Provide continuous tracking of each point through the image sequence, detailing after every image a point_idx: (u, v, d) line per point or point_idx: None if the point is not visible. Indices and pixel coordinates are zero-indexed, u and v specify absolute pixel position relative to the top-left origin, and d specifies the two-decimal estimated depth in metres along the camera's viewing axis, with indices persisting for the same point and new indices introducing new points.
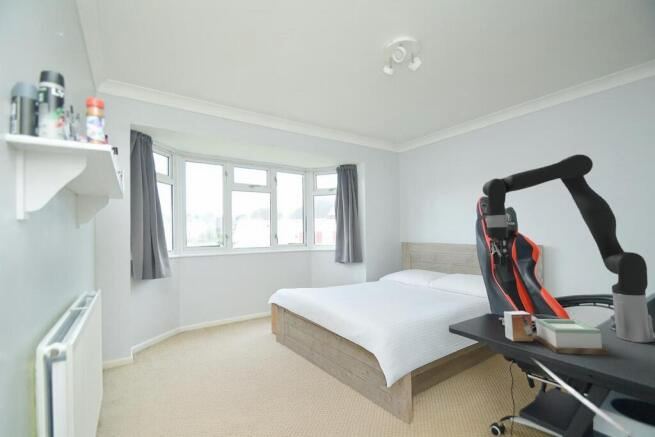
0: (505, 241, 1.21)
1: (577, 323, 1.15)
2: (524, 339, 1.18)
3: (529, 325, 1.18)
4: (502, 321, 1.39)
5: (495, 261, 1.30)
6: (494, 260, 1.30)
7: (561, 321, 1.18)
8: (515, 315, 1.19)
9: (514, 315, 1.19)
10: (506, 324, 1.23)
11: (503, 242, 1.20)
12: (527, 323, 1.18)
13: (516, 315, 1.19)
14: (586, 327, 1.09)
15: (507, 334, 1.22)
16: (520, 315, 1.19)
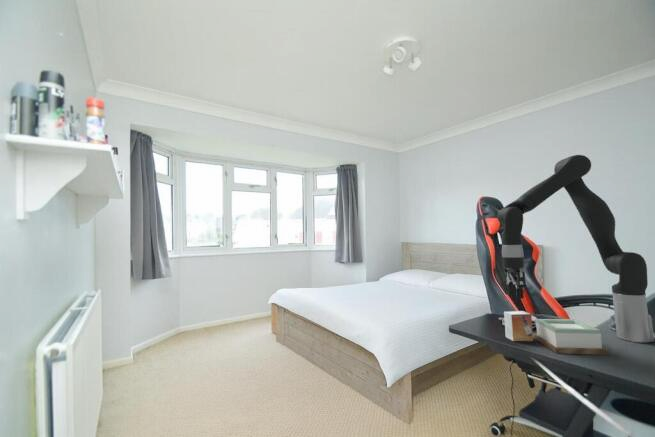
0: (522, 272, 1.16)
1: (577, 323, 1.15)
2: (524, 339, 1.18)
3: (529, 325, 1.18)
4: (502, 321, 1.39)
5: (510, 291, 1.26)
6: (509, 290, 1.26)
7: (561, 321, 1.18)
8: (515, 315, 1.19)
9: (514, 315, 1.19)
10: (506, 324, 1.23)
11: (520, 274, 1.16)
12: (527, 323, 1.18)
13: (516, 315, 1.19)
14: (586, 327, 1.09)
15: (507, 334, 1.22)
16: (520, 315, 1.19)
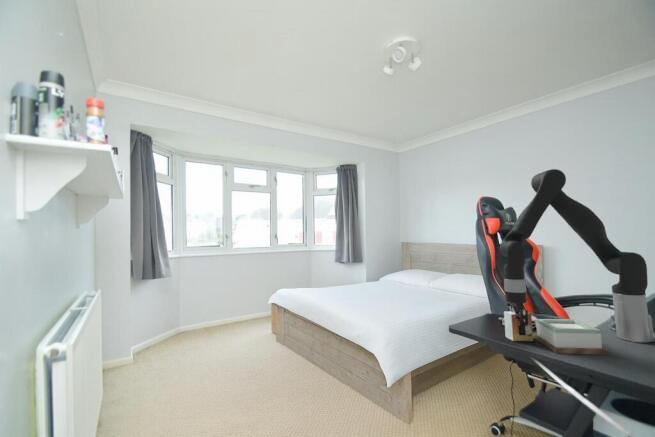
0: (525, 311, 1.15)
1: (577, 323, 1.15)
2: (524, 339, 1.18)
3: (529, 325, 1.18)
4: (502, 321, 1.39)
5: None
6: None
7: (561, 321, 1.18)
8: (515, 315, 1.19)
9: (514, 315, 1.19)
10: (506, 324, 1.23)
11: (523, 312, 1.15)
12: None
13: (516, 315, 1.19)
14: (586, 327, 1.09)
15: (507, 334, 1.22)
16: None
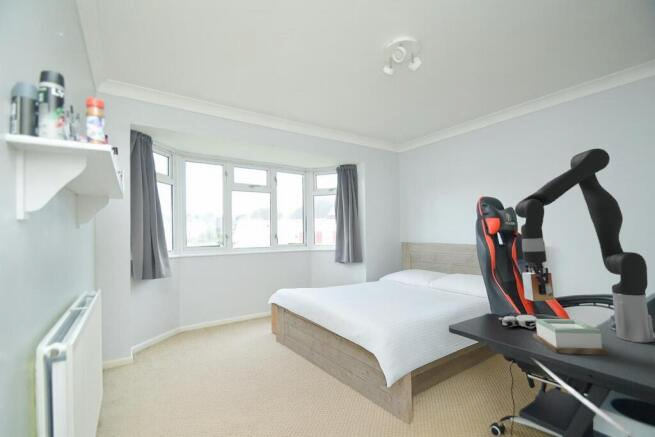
0: (545, 268, 1.12)
1: (577, 323, 1.15)
2: (544, 298, 1.15)
3: (549, 284, 1.16)
4: (502, 321, 1.39)
5: None
6: None
7: (561, 321, 1.18)
8: (534, 274, 1.16)
9: (533, 274, 1.16)
10: (525, 285, 1.20)
11: (543, 270, 1.12)
12: None
13: (535, 274, 1.16)
14: (586, 327, 1.09)
15: (526, 295, 1.19)
16: None
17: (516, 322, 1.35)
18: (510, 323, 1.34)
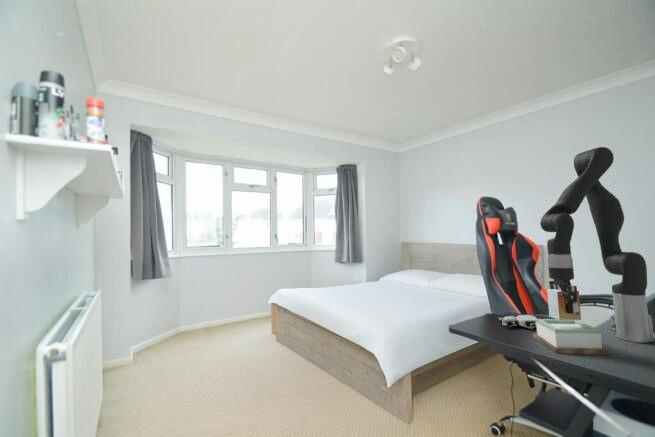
0: (574, 287, 1.07)
1: (577, 323, 1.15)
2: (571, 318, 1.10)
3: (576, 303, 1.10)
4: (502, 321, 1.39)
5: None
6: None
7: (561, 321, 1.18)
8: (561, 292, 1.11)
9: (560, 292, 1.11)
10: (550, 302, 1.15)
11: (571, 288, 1.07)
12: None
13: (562, 292, 1.11)
14: (586, 327, 1.09)
15: (551, 313, 1.14)
16: None
17: (516, 322, 1.35)
18: (510, 323, 1.34)
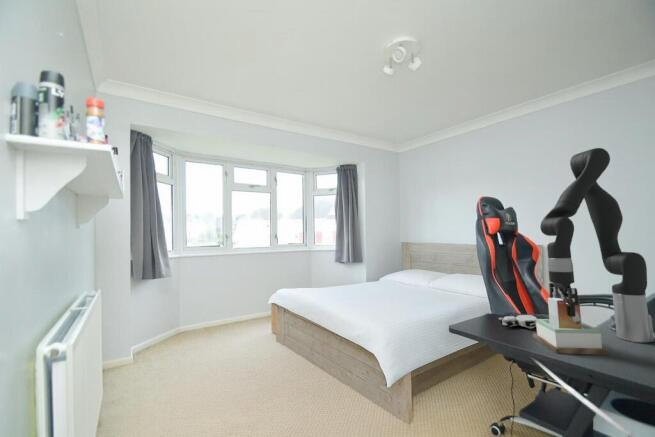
0: (574, 289, 1.07)
1: None
2: (571, 327, 1.10)
3: (577, 312, 1.10)
4: (502, 321, 1.39)
5: None
6: None
7: None
8: (561, 301, 1.11)
9: (560, 301, 1.11)
10: (550, 311, 1.15)
11: (572, 290, 1.07)
12: (575, 310, 1.10)
13: (562, 301, 1.11)
14: (586, 327, 1.09)
15: (552, 322, 1.14)
16: None
17: (516, 322, 1.35)
18: (510, 323, 1.34)
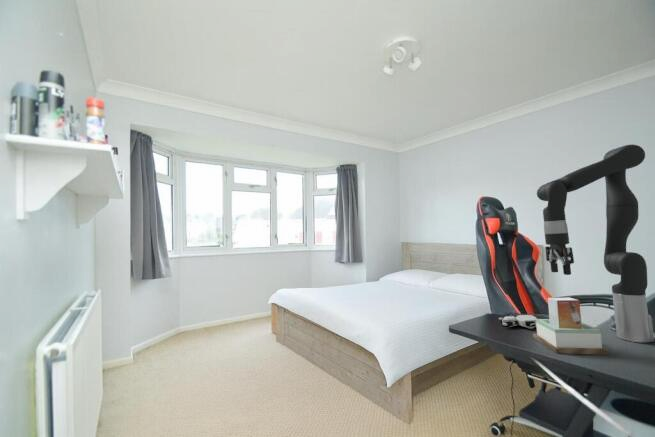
0: (569, 248, 1.13)
1: None
2: (571, 327, 1.10)
3: (577, 312, 1.10)
4: (502, 321, 1.39)
5: (553, 269, 1.23)
6: (552, 268, 1.23)
7: None
8: (561, 301, 1.11)
9: (560, 301, 1.11)
10: (550, 311, 1.15)
11: (567, 249, 1.13)
12: (575, 310, 1.10)
13: (562, 301, 1.11)
14: (586, 327, 1.09)
15: (552, 322, 1.14)
16: (567, 301, 1.11)
17: (516, 322, 1.35)
18: (510, 323, 1.34)
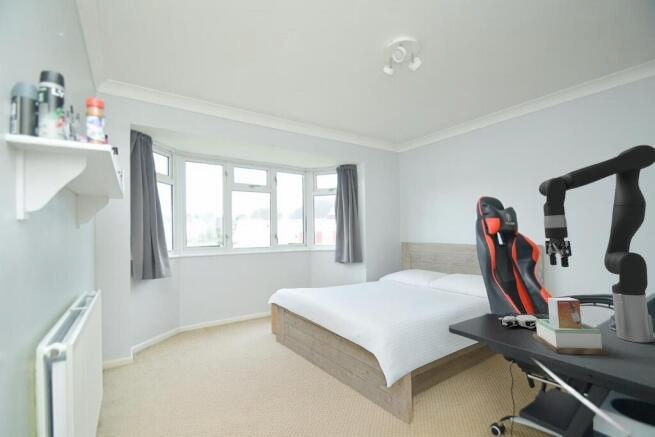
0: (567, 241, 1.18)
1: None
2: (571, 327, 1.10)
3: (577, 312, 1.10)
4: (502, 321, 1.39)
5: (552, 262, 1.28)
6: (551, 261, 1.28)
7: None
8: (561, 301, 1.11)
9: (560, 301, 1.11)
10: (550, 311, 1.15)
11: (565, 243, 1.18)
12: (575, 310, 1.10)
13: (562, 301, 1.11)
14: (586, 327, 1.09)
15: (552, 322, 1.14)
16: (567, 301, 1.11)
17: (516, 322, 1.35)
18: (510, 323, 1.34)
